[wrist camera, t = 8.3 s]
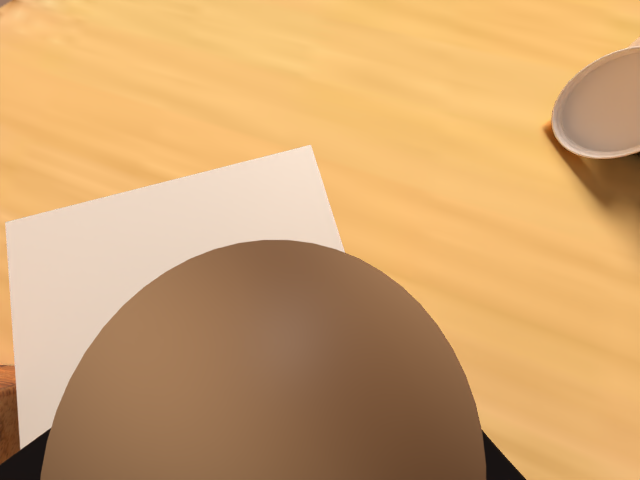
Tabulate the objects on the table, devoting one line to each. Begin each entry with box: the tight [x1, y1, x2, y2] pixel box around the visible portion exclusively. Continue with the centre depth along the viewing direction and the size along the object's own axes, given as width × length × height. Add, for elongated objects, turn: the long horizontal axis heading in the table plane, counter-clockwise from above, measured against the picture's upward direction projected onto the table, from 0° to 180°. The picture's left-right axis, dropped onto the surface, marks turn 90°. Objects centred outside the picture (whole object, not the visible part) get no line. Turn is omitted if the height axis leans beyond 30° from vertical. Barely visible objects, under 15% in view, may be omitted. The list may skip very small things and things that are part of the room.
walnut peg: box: [40, 240, 486, 480], centre depth 10 cm, size 6×6×12 cm
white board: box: [5, 145, 345, 450], centre depth 16 cm, size 18×16×4 cm
